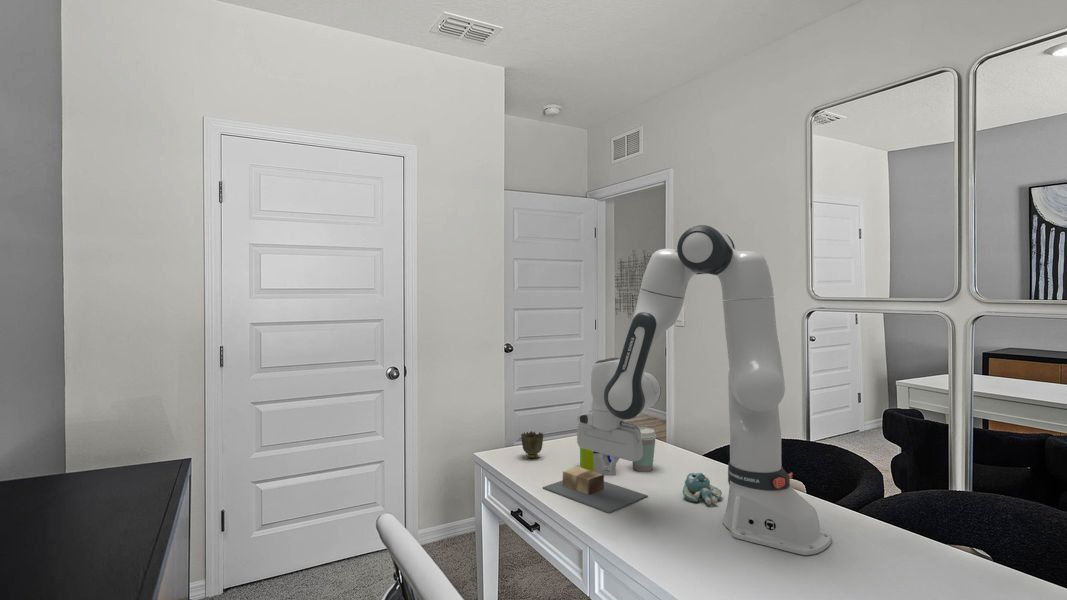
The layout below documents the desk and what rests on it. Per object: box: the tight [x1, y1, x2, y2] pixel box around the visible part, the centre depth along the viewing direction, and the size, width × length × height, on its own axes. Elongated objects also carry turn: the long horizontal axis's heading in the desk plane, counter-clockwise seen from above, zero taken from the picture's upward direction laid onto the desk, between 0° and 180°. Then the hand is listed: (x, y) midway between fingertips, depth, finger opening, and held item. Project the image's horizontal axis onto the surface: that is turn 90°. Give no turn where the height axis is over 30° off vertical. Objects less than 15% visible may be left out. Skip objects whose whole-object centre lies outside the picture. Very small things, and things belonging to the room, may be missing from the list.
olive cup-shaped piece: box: [520, 430, 544, 460], centre depth 180 cm, size 8×7×8 cm
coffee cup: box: [631, 426, 657, 473], centre depth 168 cm, size 8×8×12 cm
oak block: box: [562, 466, 605, 495], centre depth 151 cm, size 4×6×10 cm
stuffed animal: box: [682, 472, 723, 505], centre depth 143 cm, size 11×7×12 cm
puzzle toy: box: [579, 447, 617, 476], centre depth 167 cm, size 10×10×10 cm
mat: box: [542, 479, 649, 515], centre depth 148 cm, size 24×16×1 cm, turn 42°
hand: (609, 470), depth 144 cm, fingers closed
